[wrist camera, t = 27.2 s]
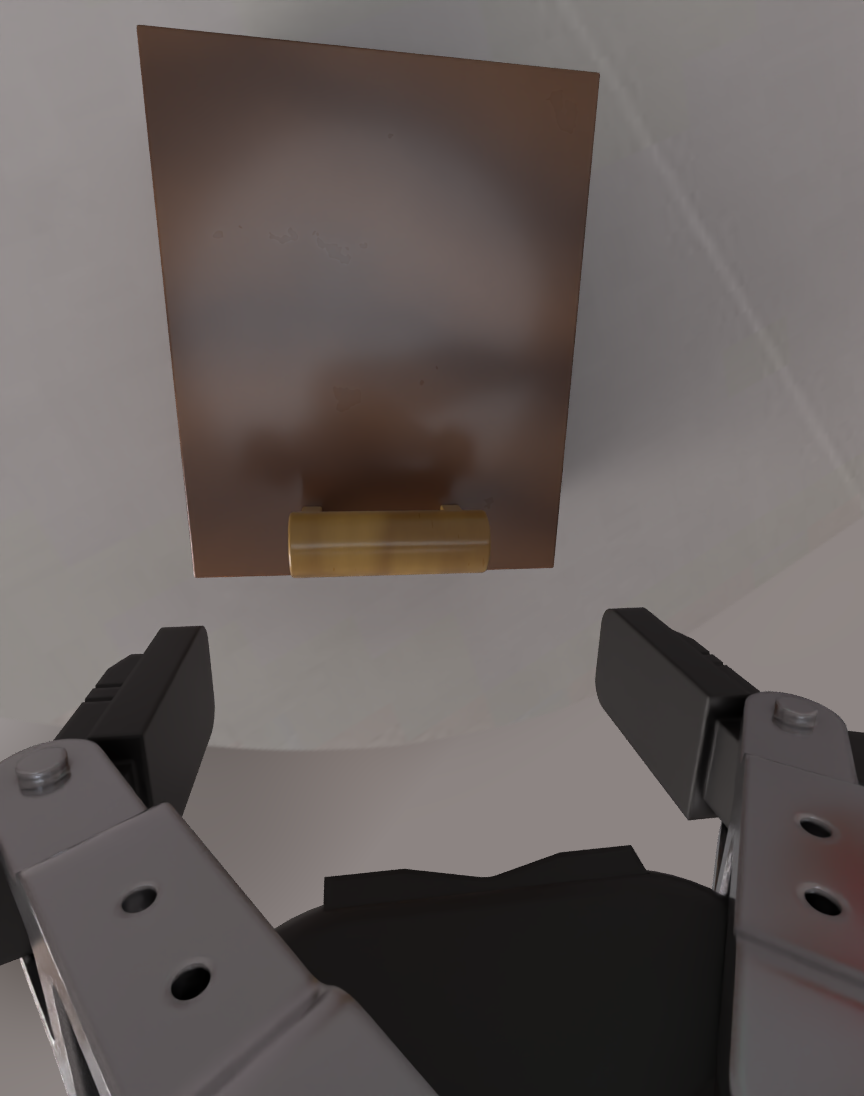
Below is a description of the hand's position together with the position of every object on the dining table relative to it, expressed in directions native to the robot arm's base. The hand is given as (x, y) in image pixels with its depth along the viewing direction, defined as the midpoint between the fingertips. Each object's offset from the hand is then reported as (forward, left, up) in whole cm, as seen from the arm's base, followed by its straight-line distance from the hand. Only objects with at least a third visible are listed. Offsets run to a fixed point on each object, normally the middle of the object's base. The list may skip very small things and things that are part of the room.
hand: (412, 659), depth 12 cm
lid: (+6, -2, -11) cm, 13 cm away
